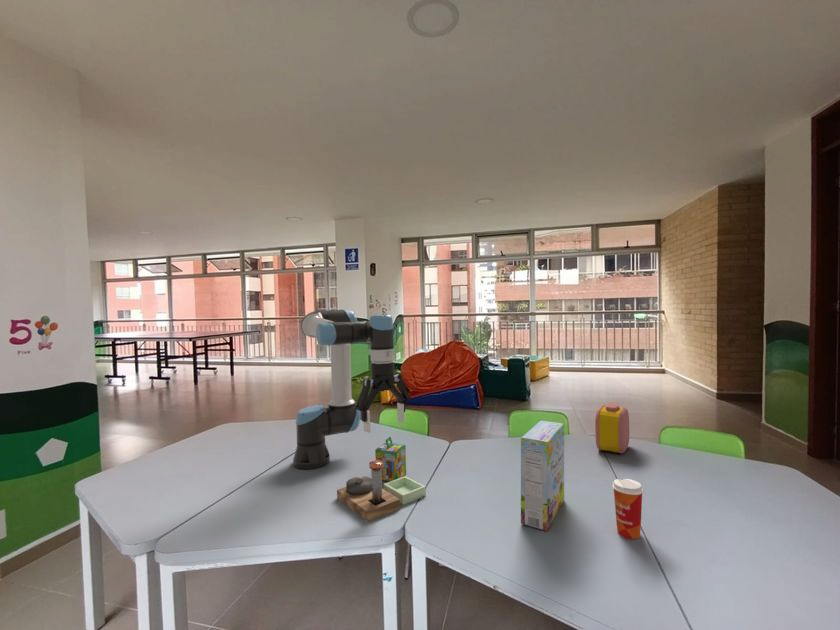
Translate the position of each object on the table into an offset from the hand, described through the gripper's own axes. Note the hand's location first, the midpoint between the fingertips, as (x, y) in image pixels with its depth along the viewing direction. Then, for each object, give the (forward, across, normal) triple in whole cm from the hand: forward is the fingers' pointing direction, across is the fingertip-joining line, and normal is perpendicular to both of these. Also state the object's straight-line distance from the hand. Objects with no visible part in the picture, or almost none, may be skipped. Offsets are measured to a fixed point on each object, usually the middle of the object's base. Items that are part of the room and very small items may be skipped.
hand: (384, 427), depth 129 cm
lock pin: (+26, -4, 0) cm, 26 cm away
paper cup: (+26, +39, -60) cm, 76 cm away
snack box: (+26, +33, -38) cm, 56 cm away
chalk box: (+26, +14, +17) cm, 34 cm away
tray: (+26, +9, +2) cm, 27 cm away
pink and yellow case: (+26, +102, -29) cm, 109 cm away
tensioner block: (+26, -4, +6) cm, 26 cm away
